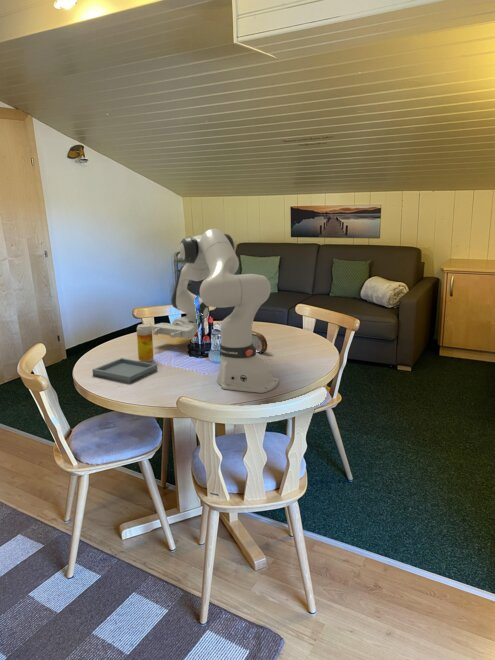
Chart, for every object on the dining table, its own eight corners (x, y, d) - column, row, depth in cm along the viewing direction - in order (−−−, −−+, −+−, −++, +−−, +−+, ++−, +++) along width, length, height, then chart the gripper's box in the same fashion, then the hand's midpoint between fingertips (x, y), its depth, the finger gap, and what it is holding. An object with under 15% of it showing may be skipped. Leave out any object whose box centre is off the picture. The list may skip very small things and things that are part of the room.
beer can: (150, 363, 197) (148, 327, 193) (136, 362, 198) (134, 326, 194) (155, 358, 203) (154, 324, 199) (142, 357, 204) (140, 323, 200)
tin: (267, 354, 208) (268, 335, 206) (261, 355, 207) (262, 336, 204) (248, 346, 220) (248, 328, 218) (242, 347, 219) (242, 329, 216)
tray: (157, 370, 188) (157, 364, 187) (129, 383, 174) (129, 377, 174) (121, 363, 196) (121, 357, 195) (92, 375, 182) (92, 369, 182)
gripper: (162, 318, 224) (143, 324, 212) (199, 323, 215) (181, 330, 203) (163, 331, 226) (144, 338, 214) (200, 336, 217) (182, 344, 205)
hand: (162, 334), depth 209 cm, fingers open, 8 cm apart
